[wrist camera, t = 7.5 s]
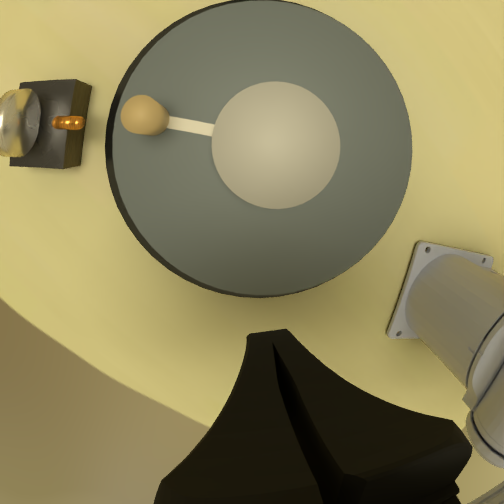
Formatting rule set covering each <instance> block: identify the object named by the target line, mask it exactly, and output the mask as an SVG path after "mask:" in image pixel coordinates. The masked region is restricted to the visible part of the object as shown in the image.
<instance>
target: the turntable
mask: <svg viewBox="0 0 504 504" xmlns="http://www.w3.org/2000/svg"><path fill="white" fill-rule="evenodd" d="M411 161H412V135H411V127H410V122H409V116H408V112H407V109H406V106H405V102H404V99H403V96H402V94H401V92H400V90H399V87H398V85H397V83H396V81H395V79H394V77H393V76H392V74H391V72H390V71H389V69H388V68H387V66H386V64H385V63H384V62H383V61H382V59H381V58H380V57H379V56H378V54H377V53H376V52H375V51H374V49H372V48H371V47H370V46H369V45H368V44H367V43H366V42H365V41H364V40H363V39H362V38H361V37H360V36H359V35H357V34H356V33H355V32H353V31H352V30H351V29H349V28H348V27H347V26H345V25H344V24H342V23H340V22H339V21H337V20H335V19H333V18H331V17H330V16H328V15H325V14H323V13H321V12H318V11H316V10H313V9H310V8H308V7H304V6H300V5H296V4H292V3H286V2H278V1H244V2H237V3H231V4H226V5H223V6H219V7H216V8H213V9H209V10H207V11H205V12H202V13H200V14H198V15H196V16H194V17H191V18H189V19H188V20H186V21H184V22H183V23H181V24H180V25H178V26H177V27H175V28H173V29H172V30H171V31H170V32H168V33H167V34H166V35H165V36H164V37H162V38H161V39H160V40H159V41H158V42H157V43H156V44H155V45H154V46H153V47H152V48H151V49H150V50H149V51H148V53H147V54H146V55H145V56H144V57H143V58H142V60H141V61H140V63H139V64H138V66H137V67H136V69H135V70H134V72H133V73H132V75H131V77H130V79H129V81H128V83H127V85H126V87H125V89H124V91H123V94H122V96H121V99H120V103H119V106H118V109H117V113H116V117H115V123H114V130H113V163H114V171H115V177H116V181H117V184H118V188H119V192H120V195H121V198H122V200H123V202H124V205H125V207H126V209H127V211H128V214H129V215H130V217H131V219H132V220H133V222H134V224H135V225H136V227H137V229H138V230H139V232H140V233H141V234H142V236H143V237H144V238H145V239H146V240H147V242H148V243H149V244H150V245H151V247H152V248H153V249H154V250H156V251H157V252H158V253H159V254H160V255H161V256H162V257H163V258H164V259H165V260H166V261H167V262H169V263H170V264H172V265H173V266H174V267H176V268H177V269H179V270H180V271H181V272H183V273H185V274H187V275H188V276H190V277H192V278H194V279H196V280H198V281H200V282H202V283H205V284H207V285H210V286H213V287H215V288H218V289H222V290H226V291H230V292H234V293H240V294H249V295H278V294H285V293H292V292H297V291H300V290H304V289H308V288H311V287H314V286H316V285H319V284H321V283H324V282H326V281H329V280H330V279H332V278H334V277H336V276H338V275H339V274H341V273H343V272H345V271H346V270H348V269H349V268H350V267H352V266H353V265H354V264H356V263H357V262H358V261H360V260H361V259H362V258H363V257H364V256H365V255H366V254H367V253H368V252H369V251H370V250H371V249H372V248H373V247H374V246H375V245H376V244H377V243H378V241H379V240H380V239H381V238H382V237H383V235H384V234H385V232H386V231H387V229H388V228H389V226H390V225H391V223H392V222H393V220H394V218H395V216H396V214H397V212H398V210H399V208H400V206H401V203H402V201H403V198H404V195H405V192H406V189H407V185H408V180H409V176H410V171H411Z"/></svg>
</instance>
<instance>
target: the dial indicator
mask: <svg viewBox="0 0 504 504" xmlns="http://www.w3.org/2000/svg"><path fill="white" fill-rule="evenodd" d="M91 88H92V86H90V85H88V84H86V83H84V82H81V81H79V80H77V79H68V80H48V81H34V82H23V83H20V87H19V89H17V90H10V91H8V92H6V93H5V94H4V95H3V96H2V97H1V98H0V155H1V156H4V157H10V166H19V167H40V168H57V169H65V168H70V167H75V166H80V164H81V154H82V146H83V138H84V130H85V123H86V117H87V110H88V105H89V99H90V93H91Z"/></svg>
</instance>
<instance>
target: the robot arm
mask: <svg viewBox="0 0 504 504" xmlns="http://www.w3.org/2000/svg"><path fill="white" fill-rule="evenodd" d="M427 247H428V249H427V251H425V249H426V248H427ZM492 264H493V257H492V256H490V255H486V254H481V253H477V252H472V251H468V250H463V249H458V248H454V247H449V246H444V245H440V244H435V243H430V242H425V241H420V242H418V243H417V244H416V247H415V250H414V253H413V257H412V260H411V264H410V267H409V270H408V273H407V276H406V279H405V283H404V286H403V289H402V292H401V294H400V297H399V300H398V303H397V306H396V309H395V312H394V314H393V317H392V320H391V322H390V325H389V328H388V330H387V336H388V337H389V338H391V339H421V340H422V341H423V342H424V343H425V344H426V345H427V346H428V347H429V348H430V349H431V350H432V351H433V352H434V354H435V355H436V356H437V357H438V358H439V359H440V360H441V361H442V362H443V363H444V364H445V365H446V367H447V368H448V369H449V370H450V371H451V372H452V373H453V374H454V375H455V376H456V378H457V379H458V380H459V381H460V382H461V383H462V384H463V385H464V387H465V388H466V389H467V391H466V393H465V395H464V397H463V399H462V400H463V401H464V402H465V403H466V405H467V406H468V407H469V408H470V409H471V410H470V411H469V413H468V415H467V418H466V428H467V432H468V435H469V438H470V441H471V443H472V445H473V447H474V448H475V450H476V451H477V452H478V453H479V454H480V456H481V457H483V458H484V459H485V460H486V461H488V462H489V463H491V464H492V465H494V466H497V467H499V468H504V276H503V275H501V274H499V273H498V272H496V271H494V270H492V269H491V267H492ZM398 331H399V332H398ZM397 332H398V333H397ZM396 333H397V334H396ZM246 338H247V344H246V351H245V355H244V359H243V362H242V366H241V369H240V372H239V375H238V377H237V380H236V382H235V385H234V387H233V389H232V392H231V394H230V396H229V398H228V400H227V402H226V404H225V405H224V407H223V409H222V411H221V412H220V414H219V416H218V417H217V419H216V420H215V422H214V423H213V425H212V426H211V428H210V429H209V431H208V432H207V433H206V435H205V436H204V437H203V438H202V440H201V441H200V442H199V443H198V444H197V446H196V447H195V448H194V449H193V450H192V451H191V453H190V454H189V455H188V456H187V457H186V458H185V459H184V460H183V461H182V462H181V463H180V464H179V465H178V466H177V467H176V468H175V469H173V470H172V471H171V472H170V473H169V474H168V475H167V476H166V477H165V478H163V479H162V481H161V483H160V485H159V488H158V491H157V493H156V497H155V500H154V504H461V503H460V501H459V499H458V498H457V496H456V495H457V494H458V493H459V488H458V486H457V484H456V483H455V480H456V478H457V477H458V476H459V474H460V473H461V471H462V470H463V468H464V467H465V465H466V464H467V462H468V460H469V459H470V457H471V454H472V445H471V444H470V443H469V441H468V440H467V438H466V437H465V435H464V434H463V432H462V431H461V430H460V428H459V427H458V426H457V425H456V424H455V423H454V422H453V420H449V419H444V418H439V417H434V416H430V415H425V414H421V413H418V412H414V411H411V410H408V409H405V408H402V407H399V406H396V405H394V404H391V403H389V402H386V401H384V400H382V399H379V398H377V397H375V396H373V395H371V394H369V393H367V392H365V391H363V390H361V389H359V388H358V387H356V386H354V385H353V384H351V383H349V382H347V381H346V380H344V379H343V378H342V377H340V376H339V375H337V374H336V373H335V372H333V371H332V370H331V369H329V368H328V367H327V366H325V365H324V364H323V363H322V362H321V361H319V360H318V359H317V358H316V357H315V356H314V355H313V354H311V353H310V352H309V351H308V350H307V349H306V348H305V347H304V346H303V345H302V344H301V343H300V342H299V341H298V340H297V339H296V338H295V337H294V336H293V335H292V334H291V333H290V331H288V330H287V329H281V330H274V331H266V332H259V333H251V334H249V335H248V336H247V337H246ZM468 504H504V481H503V482H502V483H500V484H499V485H497V486H496V487H494V488H493V489H491V490H489V491H488V492H486V493H485V494H483V495H482V496H480V497H478V498H477V499H475V500H473V501H472V502H470V503H468Z"/></svg>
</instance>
